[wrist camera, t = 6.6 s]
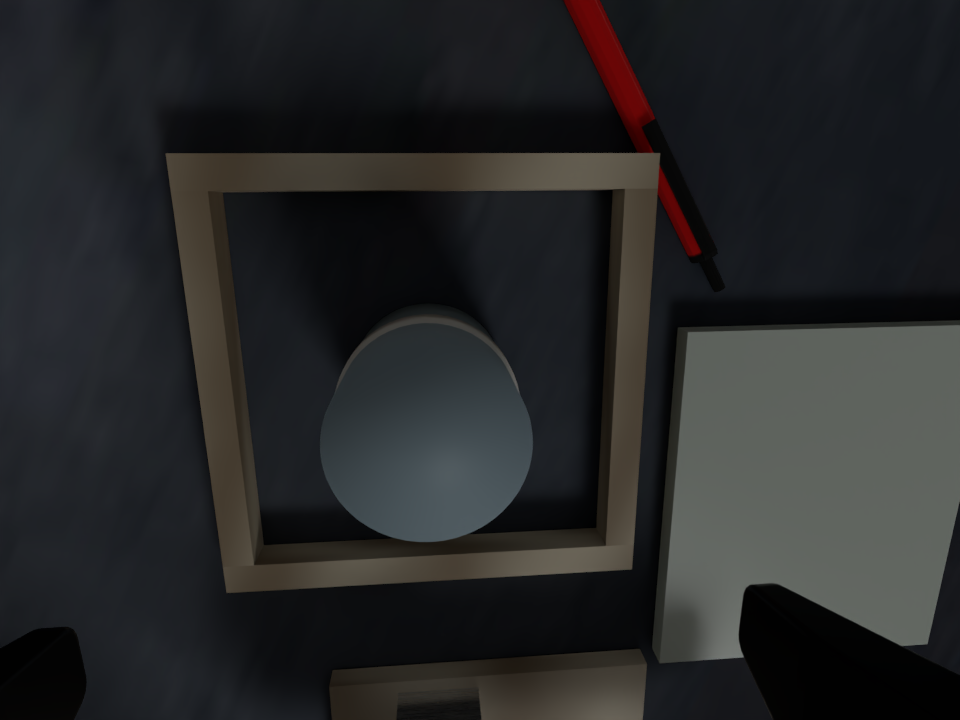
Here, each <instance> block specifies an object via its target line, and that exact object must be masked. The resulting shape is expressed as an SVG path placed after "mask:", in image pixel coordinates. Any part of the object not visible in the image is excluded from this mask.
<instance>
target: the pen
mask: <svg viewBox="0 0 960 720" xmlns="http://www.w3.org/2000/svg"><path fill="white" fill-rule="evenodd" d="M563 1H564V3H565V5H566V7H567V9H568V11H569V13H570V15H571V17H572V19H573V21H574V23H575V25H576V27H577V30H578V32H579V34H580V36H581V38H582V40H583V42H584V44H585V46H586V48H587V50H588V52H589V54H590V56H591V58H592V60H593V62H594V64H595V66H596V68H597V71H598V73H599V75H600V77H601V79H602V81H603V83H604V85H605V87H606V89H607V91H608V93H609V95H610V97H611V99H612V101H613V103H614V105H615V107H616V109H617V112H618V114H619V116H620V118H621V120H622V122H623V124H624V126H625V128H626V130H627V132H628V134H629V136H630V138H631V140H632V142H633V144H634V146H635V148H636V150H637V153H660V163H659V178H658V193H657V194H658V196H659V198H660V200H661V202H662V204H663V206H664V208H665V210H666V212H667V214H668V216H669V218H670V220H671V222H672V224H673V226H674V228H675V230H676V232H677V234H678V237H679V239H680V241H681V243H682V245H683V247H684V249H685V251H686V253H687V255H688V257H689V259H690V261H691V263H698V262H700V264H701V266H702V268H703V270H704V272H705V274H706V276H707V278H708V280H709V282H710V284H711V286H712V288H713V290H714V292H718V291H721V290H723V289H724V288H725V285H724V283H723V281H722V278H721V276H720V274H719V272H718V270H717V268H716V266H715V263H714V261H713V259H712V257H714V256H715V255H716V254H718V253H717V248H716V246H715V244H714V242H713V240H712V238H711V236H710V233H709V231H708V229H707V227H706V225H705V223H704V221H703V219H702V216H701V214H700V212H699V210H698V208H697V206H696V204H695V202H694V199H693V197H692V195H691V193H690V191H689V189H688V187H687V184H686V182H685V180H684V178H683V176H682V174H681V172H680V170H679V167H678V165H677V163H676V161H675V159H674V157H673V155H672V153H671V150H670V148H669V146H668V144H667V142H666V140H665V138H664V135H663V133H662V131H661V129H660V127H659V125H658V123H657V121H656V118H655V117H654V115H653V112H652V110H651V108H650V106H649V104H648V102H647V100H646V98H645V96H644V93H643V91H642V89H641V87H640V85H639V83H638V81H637V79H636V76H635V74H634V72H633V70H632V68H631V66H630V64H629V62H628V59H627V57H626V55H625V53H624V51H623V49H622V47H621V45H620V42H619V40H618V38H617V36H616V34H615V32H614V30H613V28H612V25H611V23H610V21H609V19H608V17H607V15H606V13H605V11H604V9H603V6H602V4H601V2H600V0H563Z"/></svg>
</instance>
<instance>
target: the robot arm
mask: <svg viewBox="0 0 960 720" xmlns="http://www.w3.org/2000/svg"><path fill="white" fill-rule="evenodd" d="M738 636H739V644H740V648H741V651H742V654H743V656H744V658H745V660H746V663H747V665H748V667H749V669H750V671H751V673H752V676H753V678H754V680H755V682H756V684H757V686H758V689H759V691H760V693H761V695H762V697H763V699H764V701H765V704H766V706H767V708H768V710H769V712H770V714H771V717H772V719H773V720H960V675H958V674H956V673H954V672H952V671H950V670H948V669H946V668H944V667H942V666H940V665H938V664H936V663H935V662H933V661H931V660H929V659H927V658H925V657H923V656H921V655H919V654H917V653H915V652H913V651H911V650H909V649H907V648H905V647H903V646H901V645H899V644H897V643H895V642H893V641H891V640H889V639H887V638H885V637H883V636H881V635H879V634H877V633H875V632H873V631H871V630H869V629H867V628H865V627H863V626H861V625H859V624H857V623H855V622H853V621H851V620H849V619H847V618H845V617H843V616H841V615H839V614H837V613H835V612H833V611H831V610H829V609H827V608H825V607H823V606H821V605H819V604H817V603H815V602H813V601H811V600H809V599H807V598H805V597H803V596H801V595H799V594H797V593H795V592H793V591H791V590H789V589H787V588H785V587H783V586H781V585H779V584H776V583H765V584H751V585H749V586H747V587H746V589H745V591H744V594H743V600H742V608H741V616H740V624H739V634H738ZM85 691H86V674H85V669H84V665H83V660H82V655H81V651H80V646H79V642H78V637H77V634H76V632H75V631H74V630H73V629H72V628H69V627H54V628H40V629H36V630H33V631H31V632H29V633H27V634H26V635H24V636H22V637H20V638H18V639H17V640H15V641H13V642H11V643H9V644H8V645H6V646H4V647H2V648H0V720H74V719H75V716H76V714H77V712H78V710H79V708H80V706H81V703H82V701H83V698H84V695H85Z"/></svg>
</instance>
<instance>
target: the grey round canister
mask: <svg viewBox="0 0 960 720" xmlns="http://www.w3.org/2000/svg"><path fill="white" fill-rule="evenodd" d="M532 448H533V437H532V428H531V423H530V418H529V415H528V412H527V409H526V406H525V404H524V402H523V400H522V398H521V396H520V394H519V389H518V384H517V382H516V379H515V376H514V373H513V371H512V369H511V367H510V365H509V363H508V362H507V360H506V358H505V356H504V354H503V353H502V352H501V350H500V349H499V347H498V346H497V345H496V344H495V343H494V341H493V339H492V337H491V336H490V334H489V333H488V332H487V330H486V329H485V328H484V327H483V326H482V325H481V324H480V323H479V322H478V321H477V320H475V319H474V318H473V317H471V316H470V315H468V314H466V313H465V312H463V311H461V310H458V309H456V308H453V307H450V306H447V305H441V304H433V303H423V304H414V305H410V306H406V307H403V308H400V309H397V310H395V311H393V312H392V313H390V314H388V315H386V316H385V317H383V318H382V319H381V320H379V321H378V322H377V323H376V324H375V325H374V326H373V327H372V328H371V329H370V331H369V332H368V333H367V334H366V336H365V337H364V339H363V341H362V342H361V343H360V344H359V345H358V347H357V348H356V349H355V350H354V352H353V353H352V355H351V356H350V358H349V360H348V361H347V363H346V365H345V367H344V368H343V371H342V373H341V375H340V378H339V380H338V384H337V387H336V391H335V394H334V396H333V398H332V400H331V402H330V404H329V406H328V408H327V411H326V413H325V416H324V420H323V423H322V428H321V435H320V455H321V461H322V467H323V470H324V473H325V476H326V479H327V481H328V483H329V485H330V487H331V490H332V491H333V493H334V494H335V496H336V497H337V499H338V500H339V502H340V503H341V504H342V505H343V506H344V507H345V509H346V510H347V511H348V512H349V513H351V514H352V515H353V516H354V517H355V518H356V519H357V520H359V521H360V522H362V523H363V524H365V525H366V526H368V527H369V528H371V529H373V530H375V531H377V532H379V533H382V534H384V535H387V536H390V537H393V538H397V539H401V540H405V541H414V542H436V541H445V540H449V539H453V538H458V537H460V536H463V535H466V534H469V533H471V532H473V531H475V530H477V529H479V528H481V527H483V526H484V525H486V524H487V523H489V522H490V521H492V520H493V519H494V518H496V517H497V516H498V515H499V514H500V513H502V512H503V511H504V509H505V508H506V507H507V506H508V505H509V504H510V503H511V502H512V500H513V499H514V498H515V496H516V495H517V493H518V492H519V490H520V488H521V486H522V484H523V483H524V481H525V478H526V475H527V473H528V470H529V466H530V462H531V458H532Z"/></svg>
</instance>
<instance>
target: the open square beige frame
mask: <svg viewBox="0 0 960 720" xmlns="http://www.w3.org/2000/svg"><path fill="white" fill-rule="evenodd" d="M166 160H167V167H168V174H169V182H170V189H171V196H172V203H173V210H174V218H175V225H176V232H177V239H178V247H179V254H180V261H181V268H182V275H183V283H184V290H185V297H186V304H187V311H188V319H189V326H190V333H191V340H192V347H193V355H194V362H195V369H196V376H197V383H198V391H199V398H200V405H201V412H202V420H203V427H204V434H205V441H206V448H207V456H208V463H209V470H210V477H211V484H212V492H213V499H214V506H215V513H216V520H217V528H218V535H219V542H220V549H221V557H222V564H223V571H224V578H225V585H226V593H237V592H254V591H271V590H288V589H305V588H322V587H339V586H356V585H374V584H391V583H408V582H425V581H442V580H459V579H476V578H493V577H511V576H528V575H545V574H562V573H579V572H596V571H613V570H630V569H632V562H633V547H634V532H635V518H636V503H637V488H638V473H639V459H640V444H641V429H642V414H643V399H644V385H645V370H646V355H647V340H648V326H649V311H650V296H651V281H652V267H653V252H654V237H655V222H656V207H657V193H658V178H659V163H660V153H166ZM534 190H613V195H612V215H611V236H610V256H609V277H608V298H607V318H606V339H605V359H604V380H603V400H602V421H601V441H600V462H599V483H598V503H597V524H596V528H582V529H563V530H544V531H525V532H506V533H487V534H468V535H463V536H460V537H458V538H453V539H449V540H445V541H436V542H414V541H405V540H401V539H397V538H391V539H372V540H353V541H334V542H315V543H296V544H277V545H264V542H263V533H262V524H261V516H260V507H259V499H258V490H257V482H256V473H255V465H254V456H253V447H252V439H251V430H250V422H249V413H248V405H247V396H246V387H245V379H244V370H243V362H242V353H241V345H240V336H239V327H238V319H237V310H236V302H235V293H234V285H233V276H232V268H231V259H230V250H229V242H228V233H227V225H226V216H225V208H224V199H223V192H358V191H534Z"/></svg>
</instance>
